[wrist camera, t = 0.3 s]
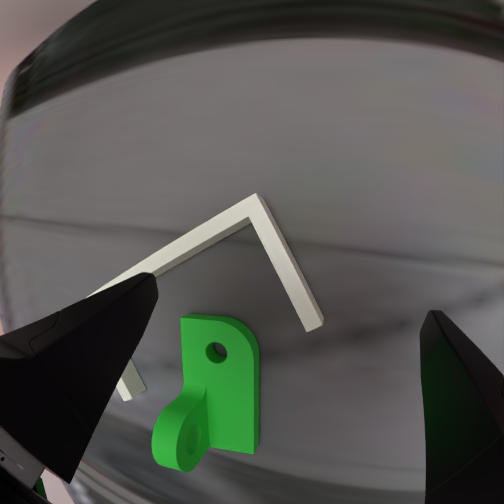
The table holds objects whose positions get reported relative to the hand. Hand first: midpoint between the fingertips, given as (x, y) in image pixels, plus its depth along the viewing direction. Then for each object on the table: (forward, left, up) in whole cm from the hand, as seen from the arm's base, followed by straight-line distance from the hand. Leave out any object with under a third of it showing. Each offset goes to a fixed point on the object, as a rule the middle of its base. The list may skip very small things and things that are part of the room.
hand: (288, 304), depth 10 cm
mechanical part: (-5, +11, -15) cm, 19 cm away
